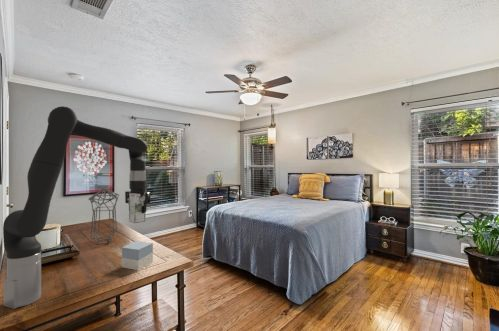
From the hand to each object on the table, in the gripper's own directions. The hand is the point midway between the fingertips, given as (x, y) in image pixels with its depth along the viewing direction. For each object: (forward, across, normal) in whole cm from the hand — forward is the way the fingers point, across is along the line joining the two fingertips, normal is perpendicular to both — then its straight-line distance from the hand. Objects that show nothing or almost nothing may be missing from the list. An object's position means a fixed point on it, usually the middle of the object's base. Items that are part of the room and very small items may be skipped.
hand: (137, 212), depth 120 cm
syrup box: (+5, 0, 0) cm, 5 cm away
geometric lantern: (+27, -46, +20) cm, 57 cm away
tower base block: (+27, 0, 0) cm, 27 cm away
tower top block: (+22, 0, 0) cm, 22 cm away
